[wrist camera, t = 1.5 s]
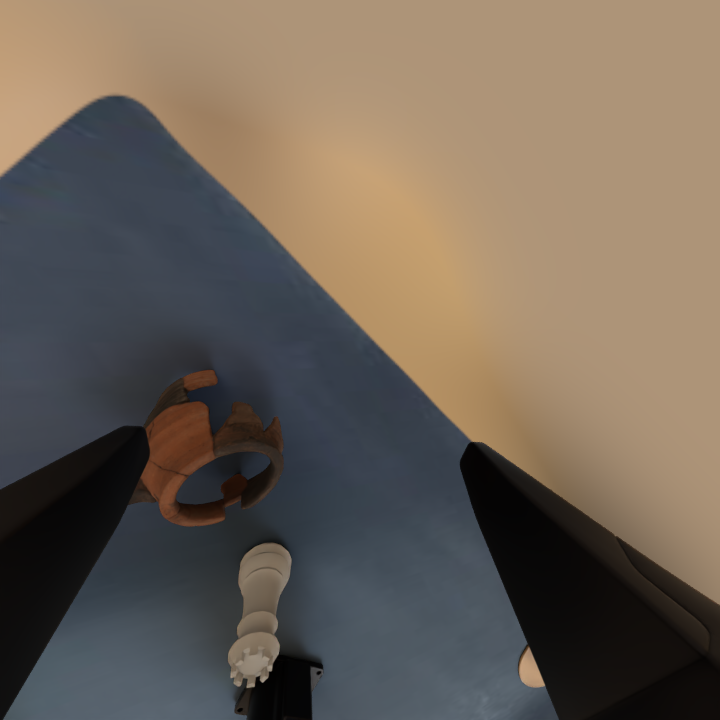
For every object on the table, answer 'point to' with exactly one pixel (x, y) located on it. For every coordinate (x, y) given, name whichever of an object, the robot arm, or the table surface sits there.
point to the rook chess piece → (259, 612)
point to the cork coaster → (529, 670)
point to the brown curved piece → (203, 453)
